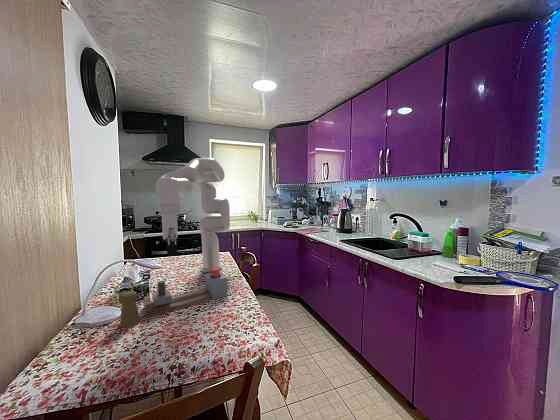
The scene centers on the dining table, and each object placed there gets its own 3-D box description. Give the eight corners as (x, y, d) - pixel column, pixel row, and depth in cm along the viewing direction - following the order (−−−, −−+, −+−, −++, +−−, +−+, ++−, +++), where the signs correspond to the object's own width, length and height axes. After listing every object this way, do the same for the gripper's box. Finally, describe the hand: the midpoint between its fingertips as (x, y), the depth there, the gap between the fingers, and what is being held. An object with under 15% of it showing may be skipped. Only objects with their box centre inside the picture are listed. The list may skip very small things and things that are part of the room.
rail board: (144, 306, 94) (143, 296, 94) (204, 291, 107) (203, 282, 107) (146, 317, 86) (145, 306, 85) (211, 299, 99) (210, 289, 99)
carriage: (152, 301, 94) (151, 281, 94) (169, 297, 98) (167, 277, 97) (154, 308, 88) (153, 287, 88) (172, 303, 92) (170, 283, 91)
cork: (118, 329, 79) (116, 297, 78) (121, 320, 84) (119, 291, 83) (139, 324, 82) (137, 293, 81) (140, 316, 87) (138, 287, 86)
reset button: (208, 276, 106) (208, 268, 105) (219, 274, 108) (218, 266, 108) (211, 279, 101) (211, 271, 101) (222, 277, 104) (222, 269, 104)
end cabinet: (205, 291, 108) (204, 274, 107) (220, 287, 112) (219, 271, 111) (212, 299, 99) (211, 281, 99) (227, 294, 103) (227, 277, 103)
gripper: (158, 209, 97) (160, 249, 98) (159, 211, 82) (162, 258, 83) (177, 208, 101) (179, 247, 102) (182, 210, 85) (184, 255, 87)
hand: (171, 252), depth 92 cm, fingers open, 9 cm apart
